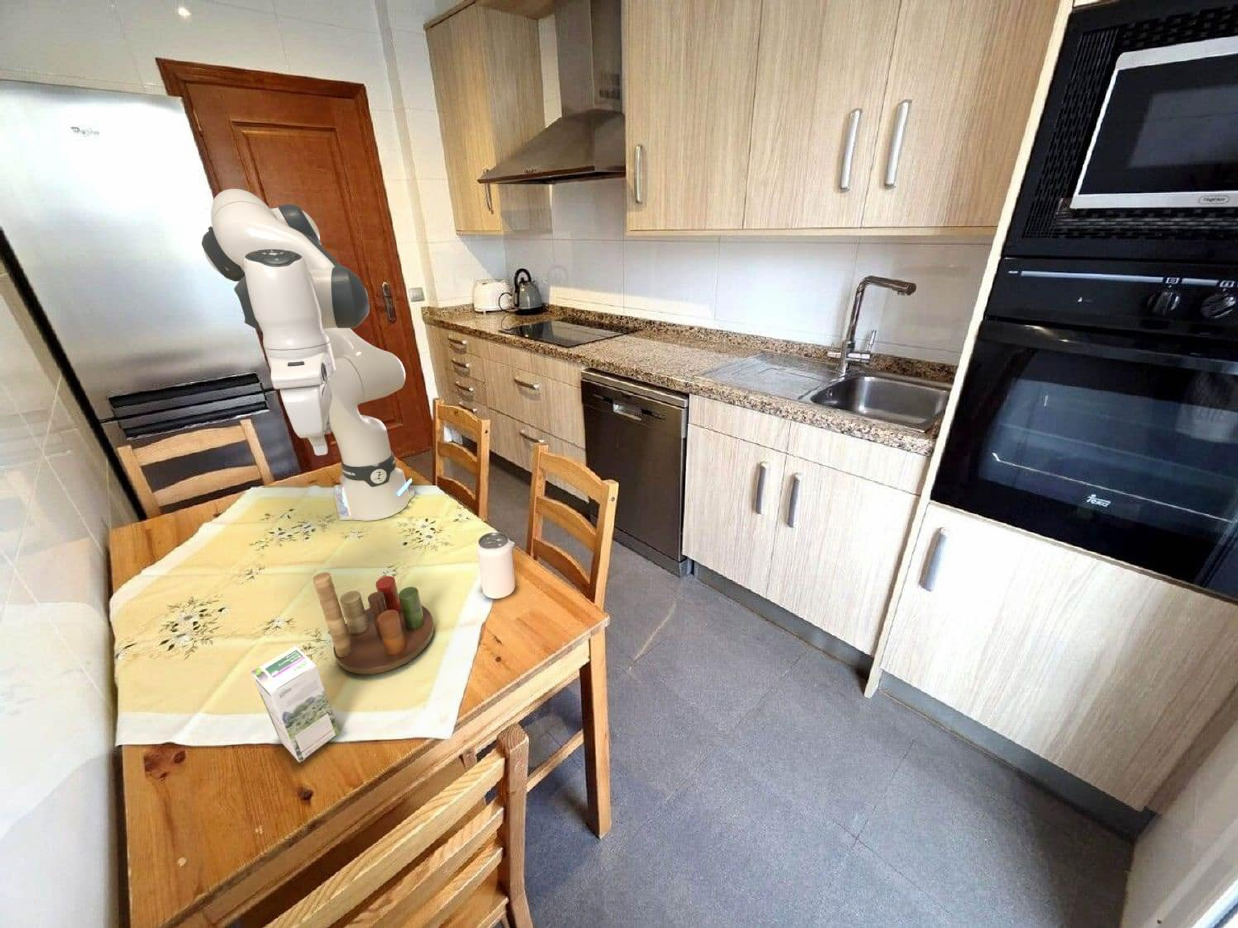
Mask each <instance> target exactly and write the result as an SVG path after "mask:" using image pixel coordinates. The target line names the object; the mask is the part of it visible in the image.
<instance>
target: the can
mask: <svg viewBox="0 0 1238 928" xmlns="http://www.w3.org/2000/svg"><path fill="white" fill-rule="evenodd" d="M476 551H477V552H476V553H477V561H478V567H479V575H480V581H481V588H482V589H481V590H482V593H483V595H484V596H486V597H487V598H489V599H494V600H499V599H504V598H506V597H508V596H511V594H512V593H513V592H514V590H515V588H516V580H515V579H516V578H515V569H514V559H513V549H512V543H511V541H510V540H509V537H508V535H507V534H506V533H504V532H501V531H492V532H488V533H485V534H484V535H482V536H480V538H479V539H478V545H477V548H476Z"/></svg>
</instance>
